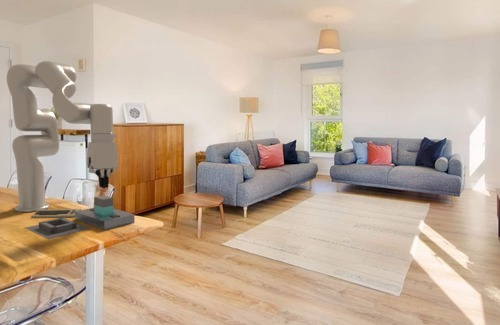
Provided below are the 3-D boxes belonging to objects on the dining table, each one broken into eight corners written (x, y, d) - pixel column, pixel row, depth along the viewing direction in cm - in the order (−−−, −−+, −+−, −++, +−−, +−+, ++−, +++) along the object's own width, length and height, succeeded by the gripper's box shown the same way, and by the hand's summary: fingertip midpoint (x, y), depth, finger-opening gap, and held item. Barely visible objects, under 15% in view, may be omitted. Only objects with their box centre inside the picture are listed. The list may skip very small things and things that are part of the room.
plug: (94, 223, 128) (94, 197, 126) (104, 220, 131) (104, 195, 130) (103, 226, 124) (103, 199, 123) (113, 223, 127) (113, 197, 126)
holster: (24, 230, 117) (24, 222, 117) (65, 221, 129) (65, 213, 128) (48, 242, 107) (48, 233, 106) (91, 231, 118) (91, 222, 118)
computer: (30, 221, 128) (30, 213, 128) (40, 216, 136) (40, 208, 136) (74, 221, 131) (74, 212, 130) (82, 215, 139) (81, 207, 138)
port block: (75, 221, 128) (74, 211, 128) (104, 215, 138) (104, 205, 138) (104, 232, 117) (104, 221, 116) (134, 224, 127) (134, 213, 126)
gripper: (114, 137, 132) (116, 183, 134) (76, 138, 120) (78, 189, 122) (126, 138, 127) (127, 185, 130) (87, 139, 115) (90, 191, 118)
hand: (104, 187), depth 126 cm, fingers closed
